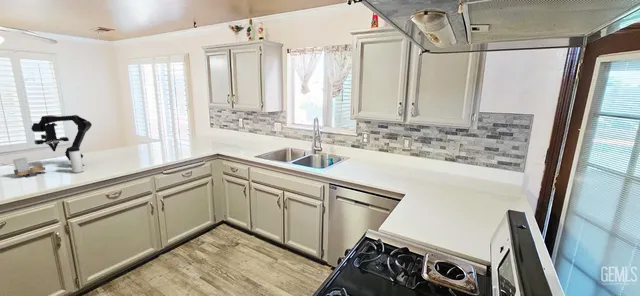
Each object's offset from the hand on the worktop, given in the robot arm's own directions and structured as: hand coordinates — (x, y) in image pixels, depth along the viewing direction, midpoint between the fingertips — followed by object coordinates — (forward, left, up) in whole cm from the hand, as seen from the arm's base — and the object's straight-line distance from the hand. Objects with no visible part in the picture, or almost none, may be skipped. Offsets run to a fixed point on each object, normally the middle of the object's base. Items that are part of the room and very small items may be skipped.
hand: (54, 151), depth 220 cm
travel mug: (-28, +11, -13) cm, 33 cm away
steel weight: (+1, +23, -9) cm, 25 cm away
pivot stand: (-1, +20, -13) cm, 24 cm away
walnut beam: (0, +21, -11) cm, 24 cm away
